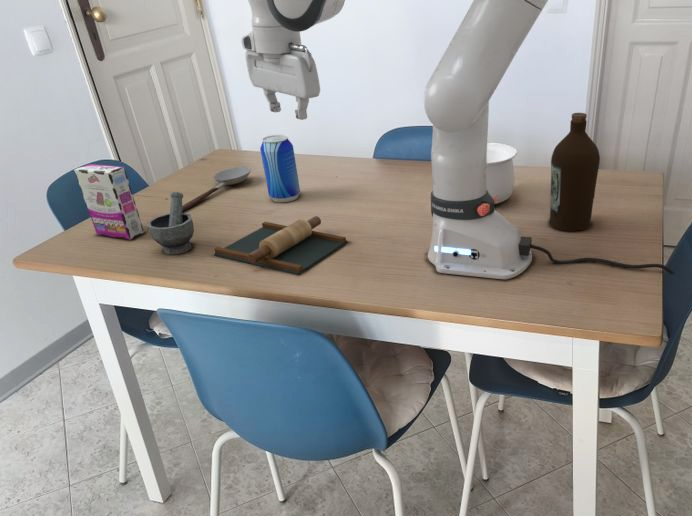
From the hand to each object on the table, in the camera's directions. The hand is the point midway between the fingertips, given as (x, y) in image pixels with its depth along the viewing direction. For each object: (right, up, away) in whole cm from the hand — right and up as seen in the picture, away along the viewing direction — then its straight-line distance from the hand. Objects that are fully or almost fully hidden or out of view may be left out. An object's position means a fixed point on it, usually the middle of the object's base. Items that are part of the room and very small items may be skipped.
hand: (288, 115), depth 129 cm
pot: (+42, -9, +35) cm, 56 cm away
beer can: (-11, -7, +42) cm, 44 cm away
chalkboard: (-5, -25, +14) cm, 29 cm away
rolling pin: (-3, -26, +13) cm, 29 cm away
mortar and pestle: (-29, -25, +17) cm, 42 cm away
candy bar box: (-47, -20, +25) cm, 57 cm away
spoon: (-32, -6, +46) cm, 56 cm away
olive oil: (+62, -19, +20) cm, 68 cm away
